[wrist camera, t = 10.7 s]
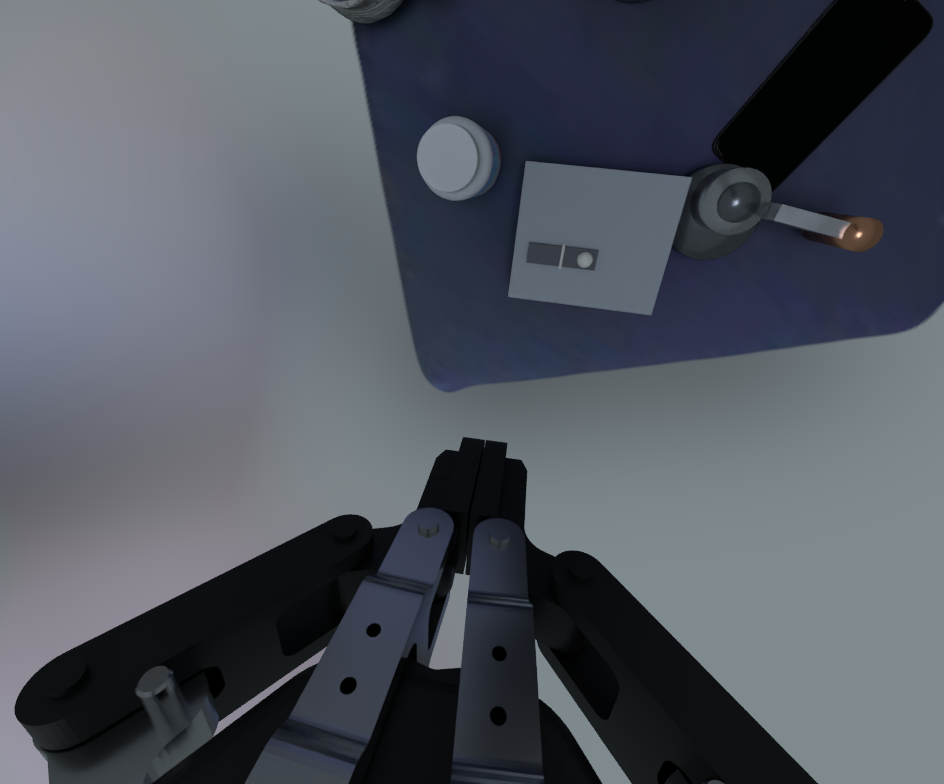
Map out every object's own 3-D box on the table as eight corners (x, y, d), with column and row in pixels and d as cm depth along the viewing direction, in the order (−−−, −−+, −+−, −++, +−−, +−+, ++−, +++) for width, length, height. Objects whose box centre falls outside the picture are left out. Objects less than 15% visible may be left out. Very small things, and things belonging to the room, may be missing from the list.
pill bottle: (512, 144, 40) (502, 135, 30) (484, 207, 43) (466, 217, 33) (455, 113, 40) (425, 92, 30) (430, 179, 43) (396, 180, 33)
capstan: (647, 244, 42) (667, 258, 35) (685, 153, 38) (716, 149, 31) (787, 282, 42) (836, 304, 35) (839, 195, 38) (906, 200, 31)
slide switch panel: (527, 162, 41) (525, 160, 36) (678, 176, 39) (697, 177, 34) (510, 287, 46) (506, 300, 41) (642, 303, 45) (654, 319, 40)
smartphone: (762, 200, 40) (933, 26, 33) (766, 200, 39) (942, 23, 32) (704, 147, 38) (869, -44, 32) (708, 147, 38) (877, -49, 31)
